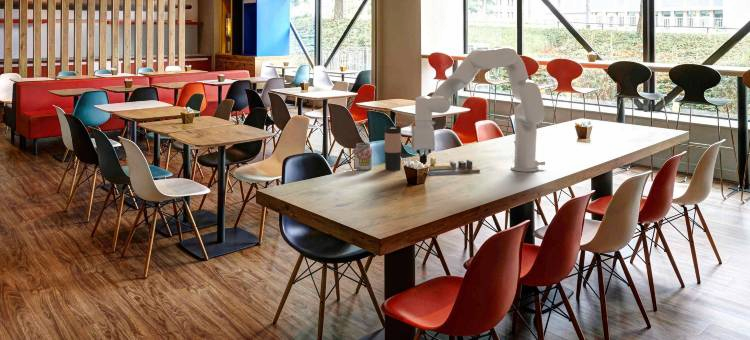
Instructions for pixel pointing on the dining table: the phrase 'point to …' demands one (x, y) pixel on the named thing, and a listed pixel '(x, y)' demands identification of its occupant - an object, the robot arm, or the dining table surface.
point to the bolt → (436, 167)
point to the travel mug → (392, 148)
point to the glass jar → (363, 156)
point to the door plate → (444, 170)
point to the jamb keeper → (466, 167)
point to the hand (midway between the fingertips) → (423, 163)
